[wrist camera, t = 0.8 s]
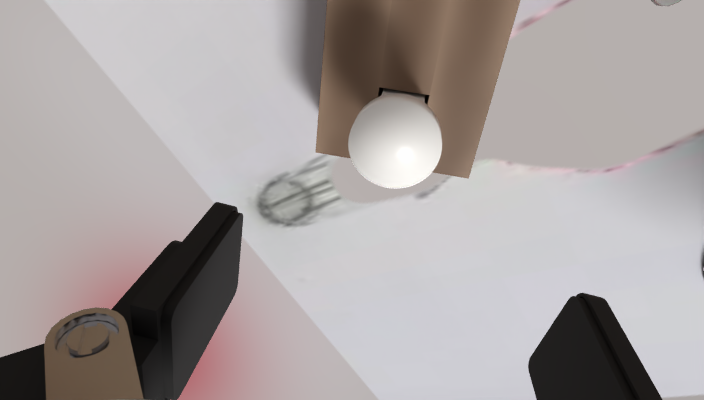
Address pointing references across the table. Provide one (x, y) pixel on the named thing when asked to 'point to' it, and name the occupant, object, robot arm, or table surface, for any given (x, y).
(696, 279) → the table surface
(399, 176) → the white glossy ovoid
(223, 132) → the table surface
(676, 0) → the emergency button
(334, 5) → the press console
